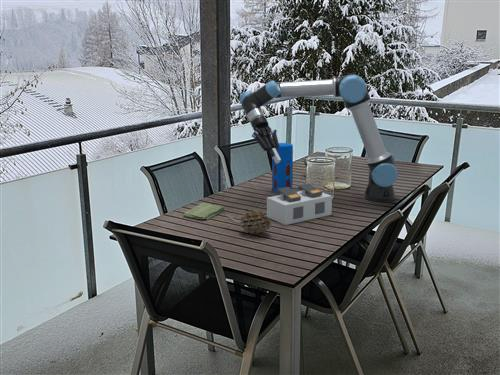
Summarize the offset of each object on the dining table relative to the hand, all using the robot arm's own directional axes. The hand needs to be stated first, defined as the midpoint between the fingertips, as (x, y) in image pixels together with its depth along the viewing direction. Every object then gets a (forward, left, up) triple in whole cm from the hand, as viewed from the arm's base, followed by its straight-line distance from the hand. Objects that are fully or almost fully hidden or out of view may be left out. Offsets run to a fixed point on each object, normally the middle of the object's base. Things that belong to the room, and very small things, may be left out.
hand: (278, 161), depth 228 cm
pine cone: (-1, +28, -25) cm, 38 cm away
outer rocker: (-7, +4, -13) cm, 16 cm away
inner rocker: (-13, -7, -13) cm, 20 cm away
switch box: (-10, -2, -24) cm, 26 cm away
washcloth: (+29, +18, -25) cm, 42 cm away
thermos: (+17, -35, -25) cm, 46 cm away
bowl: (+13, -73, -25) cm, 78 cm away
